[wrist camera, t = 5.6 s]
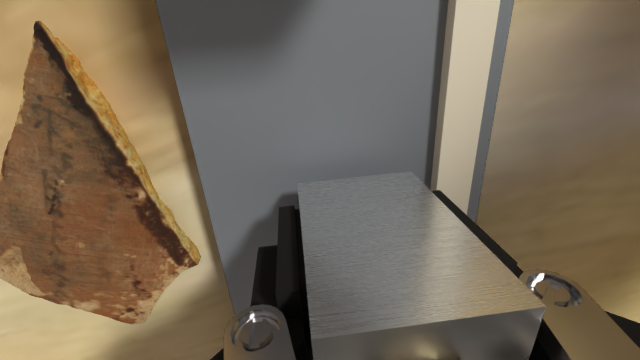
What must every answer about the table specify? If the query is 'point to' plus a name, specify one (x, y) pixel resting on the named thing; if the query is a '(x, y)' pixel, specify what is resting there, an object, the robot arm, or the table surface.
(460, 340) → the block
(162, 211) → the shard
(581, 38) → the table surface
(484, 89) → the hole plate
